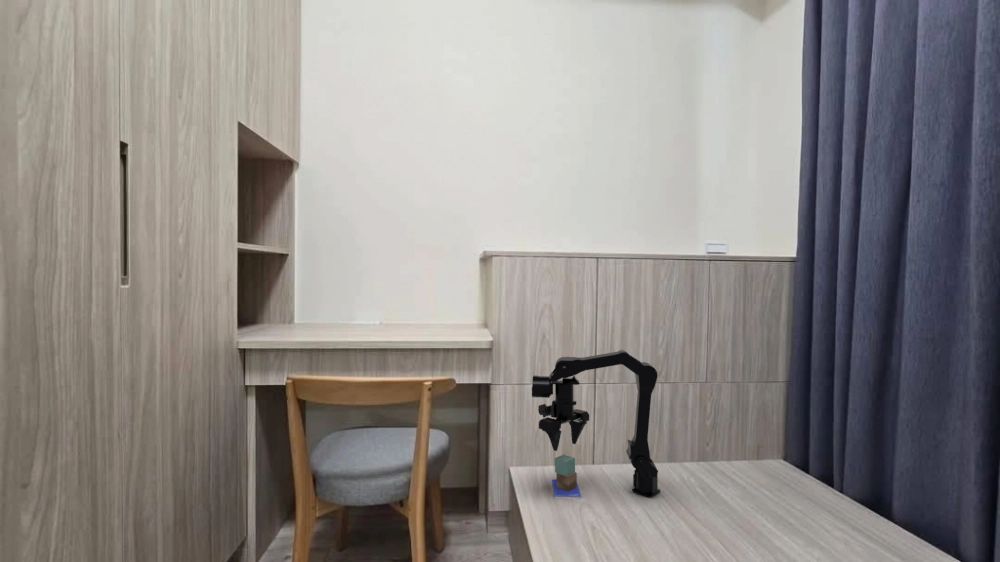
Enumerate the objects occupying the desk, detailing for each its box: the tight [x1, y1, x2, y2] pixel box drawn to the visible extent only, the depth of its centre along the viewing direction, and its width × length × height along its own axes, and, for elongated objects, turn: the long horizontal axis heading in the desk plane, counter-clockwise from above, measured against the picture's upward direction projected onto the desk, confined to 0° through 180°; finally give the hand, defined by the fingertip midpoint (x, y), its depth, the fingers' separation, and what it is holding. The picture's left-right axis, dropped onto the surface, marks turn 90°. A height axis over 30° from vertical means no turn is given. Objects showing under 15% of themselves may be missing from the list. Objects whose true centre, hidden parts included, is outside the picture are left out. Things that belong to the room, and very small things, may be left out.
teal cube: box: [554, 454, 576, 476], centre depth 152 cm, size 4×4×4 cm
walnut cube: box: [555, 471, 578, 491], centre depth 152 cm, size 4×4×4 cm
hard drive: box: [551, 478, 582, 499], centre depth 152 cm, size 2×8×12 cm
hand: (564, 447), depth 152 cm, fingers open, 9 cm apart
